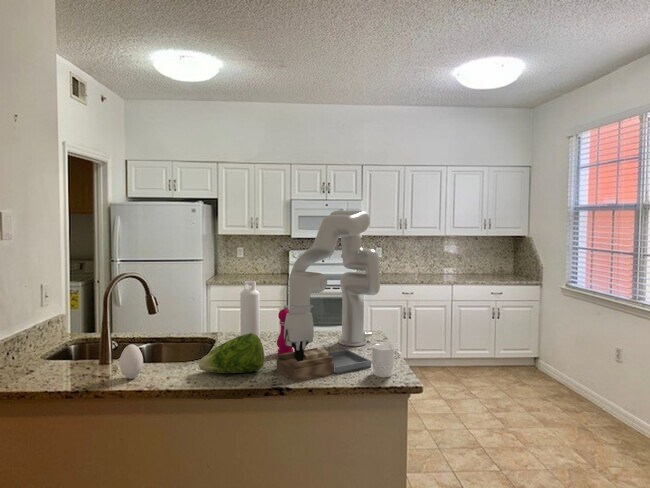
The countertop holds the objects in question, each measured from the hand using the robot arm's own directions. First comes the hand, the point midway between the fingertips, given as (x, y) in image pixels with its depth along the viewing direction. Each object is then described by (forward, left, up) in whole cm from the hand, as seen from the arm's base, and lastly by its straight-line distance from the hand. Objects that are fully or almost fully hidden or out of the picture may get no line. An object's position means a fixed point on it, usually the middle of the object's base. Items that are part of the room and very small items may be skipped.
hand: (299, 359), depth 162 cm
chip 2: (-9, 0, -1) cm, 9 cm away
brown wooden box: (-2, 0, -5) cm, 5 cm away
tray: (-18, 0, -5) cm, 19 cm away
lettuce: (+21, -12, -5) cm, 25 cm away
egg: (+53, -23, -5) cm, 58 cm away
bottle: (+4, -38, -5) cm, 38 cm away
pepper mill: (-5, -22, -5) cm, 23 cm away
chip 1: (-4, 0, -1) cm, 4 cm away
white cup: (-25, +16, -5) cm, 30 cm away
